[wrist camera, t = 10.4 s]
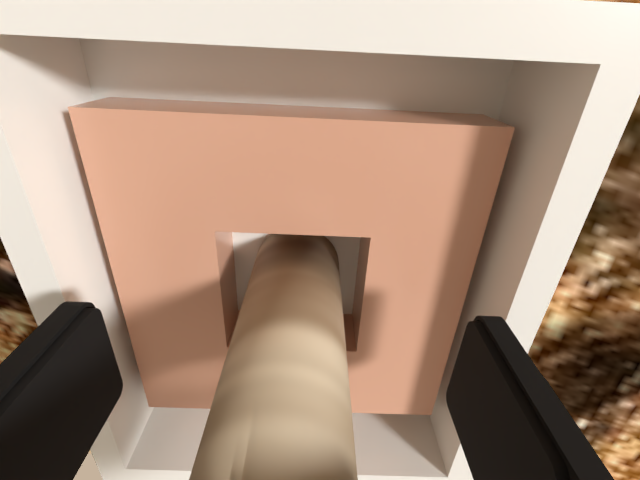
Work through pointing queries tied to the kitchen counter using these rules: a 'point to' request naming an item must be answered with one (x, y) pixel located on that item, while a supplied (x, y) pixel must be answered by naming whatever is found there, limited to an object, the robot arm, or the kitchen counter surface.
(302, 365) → the birch peg
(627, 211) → the kitchen counter surface
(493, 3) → the open-top box
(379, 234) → the bored plate
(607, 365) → the kitchen counter surface
